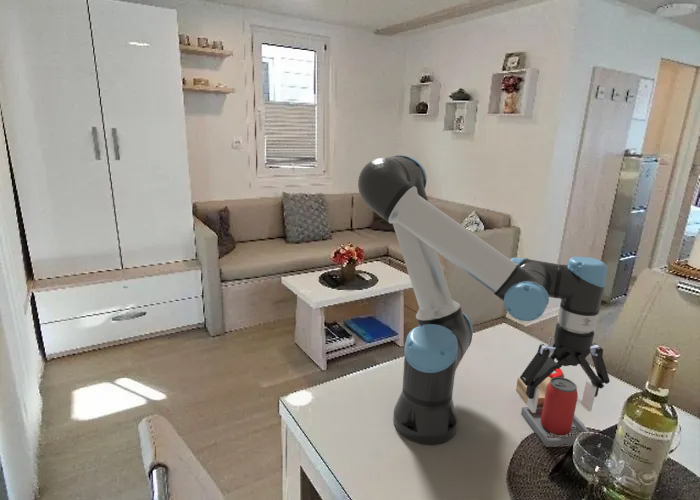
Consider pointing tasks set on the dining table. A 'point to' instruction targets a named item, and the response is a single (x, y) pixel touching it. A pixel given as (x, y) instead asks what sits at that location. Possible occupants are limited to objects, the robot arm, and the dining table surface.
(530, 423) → the charcoal tray
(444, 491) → the dining table surface
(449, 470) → the dining table surface
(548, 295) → the robot arm
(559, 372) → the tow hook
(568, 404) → the beer can
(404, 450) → the dining table surface
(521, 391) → the block
